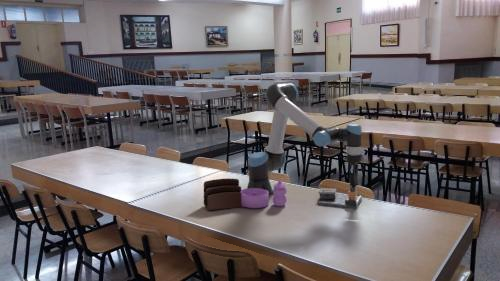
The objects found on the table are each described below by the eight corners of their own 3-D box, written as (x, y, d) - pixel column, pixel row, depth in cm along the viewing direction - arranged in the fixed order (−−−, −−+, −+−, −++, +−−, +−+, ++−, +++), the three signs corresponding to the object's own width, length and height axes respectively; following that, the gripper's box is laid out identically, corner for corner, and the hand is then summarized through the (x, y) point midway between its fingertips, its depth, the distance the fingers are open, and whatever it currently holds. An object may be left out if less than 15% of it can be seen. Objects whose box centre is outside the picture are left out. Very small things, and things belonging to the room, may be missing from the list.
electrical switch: (317, 192, 220) (319, 185, 229) (318, 201, 222) (320, 193, 230) (335, 192, 218) (336, 185, 226) (335, 201, 219) (336, 194, 228)
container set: (237, 207, 214) (237, 182, 212) (242, 198, 229) (242, 175, 227) (285, 209, 210) (286, 185, 208) (287, 200, 225) (287, 177, 223)
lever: (348, 202, 212) (348, 188, 211) (349, 201, 215) (349, 186, 213) (355, 203, 211) (355, 188, 209) (356, 201, 213) (356, 187, 212)
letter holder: (203, 204, 221) (203, 179, 219) (238, 201, 227) (238, 177, 225) (207, 210, 212) (207, 184, 209) (243, 207, 218) (244, 181, 216)
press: (318, 204, 216) (318, 197, 216) (325, 196, 230) (325, 189, 229) (356, 208, 208) (356, 201, 207) (361, 199, 221) (361, 192, 220)
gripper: (349, 150, 219) (349, 193, 224) (344, 156, 208) (344, 200, 212) (363, 151, 216) (363, 194, 220) (359, 156, 205) (358, 201, 209)
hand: (353, 197), depth 216 cm, fingers closed
